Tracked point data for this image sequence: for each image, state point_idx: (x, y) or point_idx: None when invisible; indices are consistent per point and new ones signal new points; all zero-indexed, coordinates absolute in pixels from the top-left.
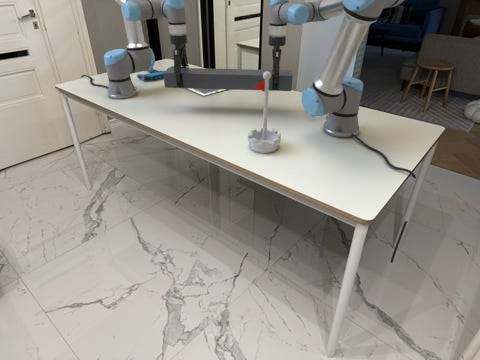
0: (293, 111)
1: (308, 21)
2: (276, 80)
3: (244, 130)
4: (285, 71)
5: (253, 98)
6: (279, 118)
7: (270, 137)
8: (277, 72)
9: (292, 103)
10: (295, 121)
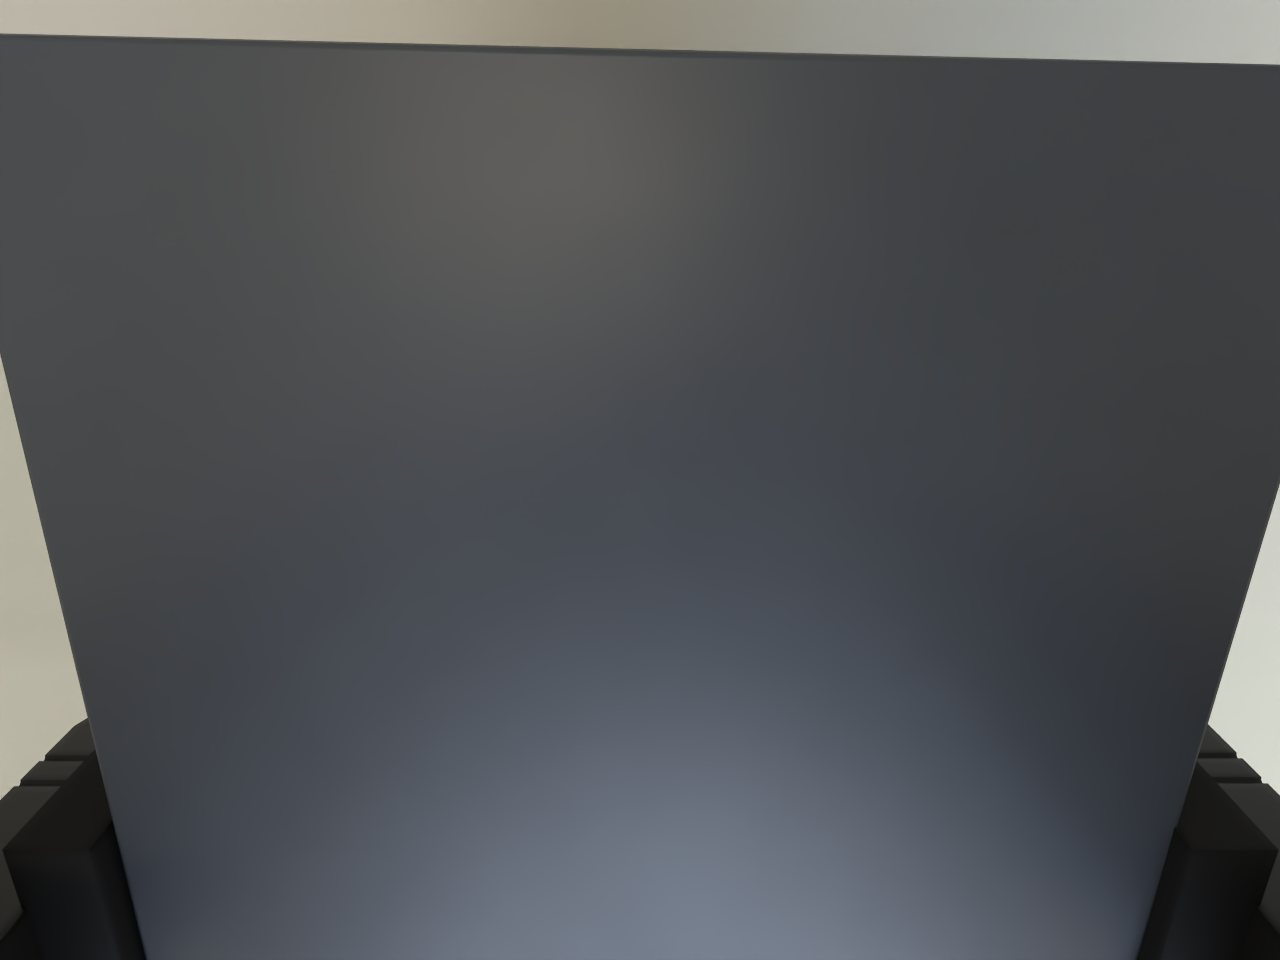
0: (567, 42)
1: None
2: (1243, 796)
3: (1241, 754)
4: (325, 481)
5: (82, 695)
6: None
7: None
8: (590, 871)
9: (147, 33)
10: (1030, 38)
